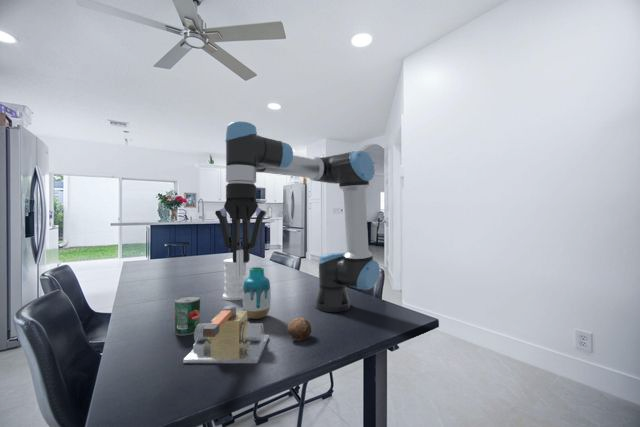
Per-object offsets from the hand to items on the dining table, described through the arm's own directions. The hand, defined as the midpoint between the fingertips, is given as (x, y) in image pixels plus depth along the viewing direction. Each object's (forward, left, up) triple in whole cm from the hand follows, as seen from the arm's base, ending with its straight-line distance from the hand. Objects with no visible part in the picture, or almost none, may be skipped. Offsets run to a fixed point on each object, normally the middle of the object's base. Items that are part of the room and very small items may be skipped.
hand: (241, 275), depth 70 cm
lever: (+7, -4, -14) cm, 16 cm away
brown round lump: (-14, -19, -25) cm, 34 cm away
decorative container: (+21, -63, -25) cm, 71 cm away
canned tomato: (+25, -24, -25) cm, 43 cm away
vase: (+4, -36, -25) cm, 43 cm away
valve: (+6, -11, -24) cm, 27 cm away
